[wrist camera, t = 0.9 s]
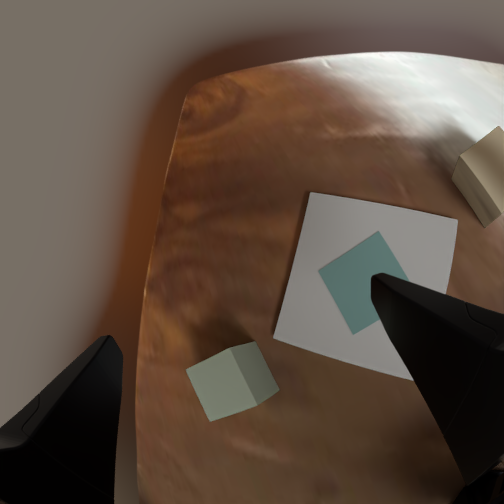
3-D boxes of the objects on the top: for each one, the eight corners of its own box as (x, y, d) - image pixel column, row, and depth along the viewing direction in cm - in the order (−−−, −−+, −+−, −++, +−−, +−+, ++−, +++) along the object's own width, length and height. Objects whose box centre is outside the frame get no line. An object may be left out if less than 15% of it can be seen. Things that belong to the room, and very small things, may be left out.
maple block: (486, 151, 20) (498, 125, 16) (519, 197, 18) (538, 178, 14) (450, 179, 22) (459, 155, 18) (484, 228, 20) (501, 213, 16)
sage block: (255, 341, 28) (229, 347, 24) (280, 389, 26) (257, 405, 22) (215, 361, 30) (185, 369, 26) (236, 407, 28) (210, 421, 24)
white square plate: (456, 222, 21) (458, 219, 20) (418, 379, 21) (419, 382, 20) (312, 194, 28) (310, 191, 27) (276, 337, 27) (272, 338, 27)
